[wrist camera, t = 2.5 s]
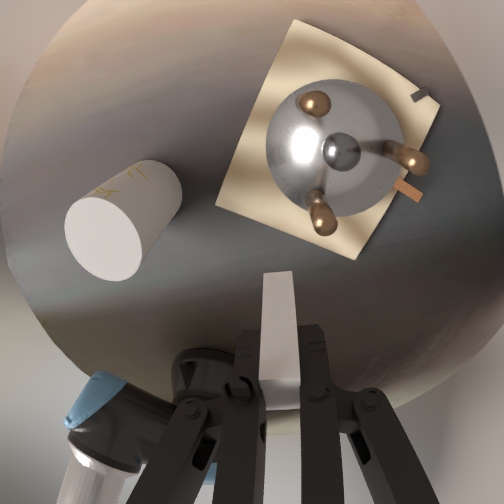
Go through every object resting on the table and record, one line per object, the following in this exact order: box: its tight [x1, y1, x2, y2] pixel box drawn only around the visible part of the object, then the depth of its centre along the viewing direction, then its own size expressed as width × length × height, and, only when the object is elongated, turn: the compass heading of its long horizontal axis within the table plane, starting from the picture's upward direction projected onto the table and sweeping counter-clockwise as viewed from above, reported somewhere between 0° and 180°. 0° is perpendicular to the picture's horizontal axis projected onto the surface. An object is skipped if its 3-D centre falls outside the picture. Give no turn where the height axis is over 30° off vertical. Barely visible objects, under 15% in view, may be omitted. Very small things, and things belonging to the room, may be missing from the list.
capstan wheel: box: [266, 79, 430, 236], centre depth 22 cm, size 14×18×8 cm
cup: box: [65, 160, 182, 281], centre depth 26 cm, size 8×8×12 cm
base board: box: [215, 19, 440, 260], centre depth 26 cm, size 23×18×2 cm
